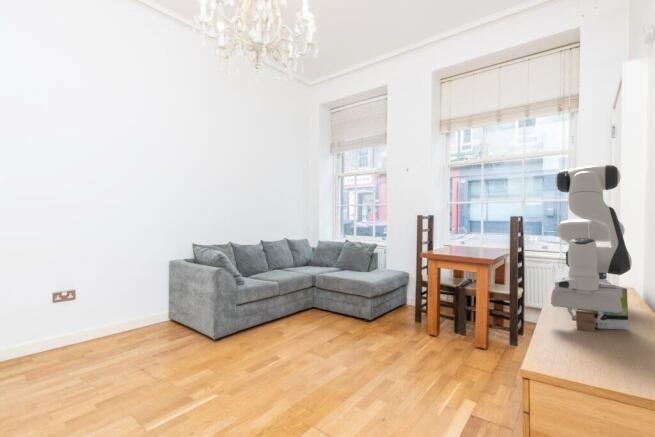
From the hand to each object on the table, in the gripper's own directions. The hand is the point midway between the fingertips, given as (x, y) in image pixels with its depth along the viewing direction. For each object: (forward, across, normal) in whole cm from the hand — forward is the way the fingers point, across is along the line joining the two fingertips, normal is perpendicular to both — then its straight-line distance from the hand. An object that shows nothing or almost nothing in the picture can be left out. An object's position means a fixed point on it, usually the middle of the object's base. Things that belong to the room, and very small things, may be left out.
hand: (585, 321), depth 118 cm
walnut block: (+2, 0, 0) cm, 3 cm away
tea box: (+2, -5, -10) cm, 12 cm away
